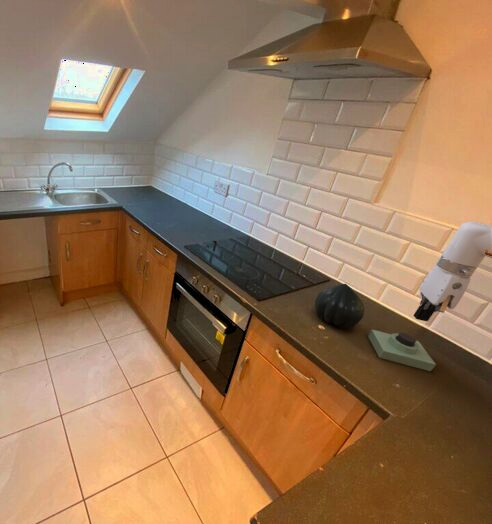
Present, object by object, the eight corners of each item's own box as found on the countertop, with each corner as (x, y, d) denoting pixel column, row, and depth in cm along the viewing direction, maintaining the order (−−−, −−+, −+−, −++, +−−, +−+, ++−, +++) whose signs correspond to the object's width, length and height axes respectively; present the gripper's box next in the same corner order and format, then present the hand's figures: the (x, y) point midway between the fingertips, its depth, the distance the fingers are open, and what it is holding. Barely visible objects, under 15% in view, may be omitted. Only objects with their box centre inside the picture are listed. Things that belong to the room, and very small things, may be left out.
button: (409, 339, 97) (412, 334, 96) (415, 348, 93) (418, 343, 93) (393, 335, 98) (396, 331, 97) (399, 344, 94) (402, 339, 94)
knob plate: (413, 347, 101) (421, 336, 99) (430, 371, 92) (439, 359, 89) (367, 336, 104) (374, 324, 102) (379, 357, 95) (386, 345, 93)
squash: (348, 328, 97) (373, 291, 98) (303, 306, 108) (327, 272, 109) (350, 340, 108) (373, 306, 108) (309, 318, 118) (331, 287, 119)
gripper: (490, 282, 76) (448, 337, 84) (455, 258, 88) (422, 308, 97) (455, 275, 77) (417, 330, 86) (426, 252, 90) (395, 302, 99)
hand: (420, 318), depth 91 cm, fingers closed
